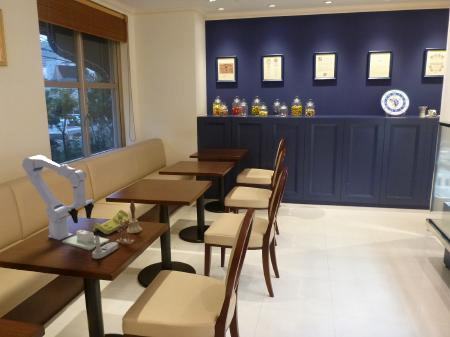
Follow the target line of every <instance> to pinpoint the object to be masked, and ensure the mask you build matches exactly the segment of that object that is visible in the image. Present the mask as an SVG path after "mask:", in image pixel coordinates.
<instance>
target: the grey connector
mask: <svg viewBox="0 0 450 337" xmlns="http://www.w3.org/2000/svg"><path fill="white" fill-rule="evenodd" d="M75 233H76V235H77V240H79V241H83V242H87V243H91V242H94V240H95V237H94V236H95V235H94V231H93V232H92V231H88V230H85V229H79V230H76V232H75Z"/></svg>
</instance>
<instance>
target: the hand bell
mask: <svg viewBox="0 0 450 337" xmlns="http://www.w3.org/2000/svg"><path fill="white" fill-rule="evenodd" d="M129 209H130V213H131V214H130V215H131V219H130V220H128V222H129V223H130V224H131V228H130V227H128V226H127V229H129V228H130V229H129V230H127V233H128V234H136V233H140V232H141V231H143V228H142V227H141V226H140V224H139V220H138V219H136V215H135V212H136V204H135V202H134V200H133V201H130V204H129Z"/></svg>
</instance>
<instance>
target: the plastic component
mask: <svg viewBox="0 0 450 337" xmlns="http://www.w3.org/2000/svg"><path fill="white" fill-rule="evenodd" d="M121 219H125V220H126V221H127V222H129V219H130V215H129V213H128V212H126V211H125V210H123V209H120V210H119V211H118V212H116V214H114V215H113V217H112V218H110V219H109V220H107V221H105V222H103V223H101V224H100V223H98V222H96V223H95V224H94V225H93V228H92V231H93V233H94V232H98V231H100V232H102V233H103V234H105V235H110V234H113V233H114V232H115V231H117V227H118V226H119V229H122V226H120V225H121V224H120V220H121ZM122 221H123V224H125V223H124V220H122ZM122 221H121V223H122ZM125 225H126V224H125Z"/></svg>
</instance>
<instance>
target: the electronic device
mask: <svg viewBox="0 0 450 337" xmlns="http://www.w3.org/2000/svg"><path fill="white" fill-rule="evenodd" d="M94 236H95V241H96V243H95V244H96V248H95V249H94V251H92V253H91V256H92V258H93V259H95V260H97V259H99V260H100V259H102V258H105V257H106V256H108V255H109V254H111V253H113V252H114V251H116V250H117V249H118V248H119V243H116V241H112V242H111V241H110V242H107V243H105V244H103V246H102V245H100V239H99V237H100V235H94Z"/></svg>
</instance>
